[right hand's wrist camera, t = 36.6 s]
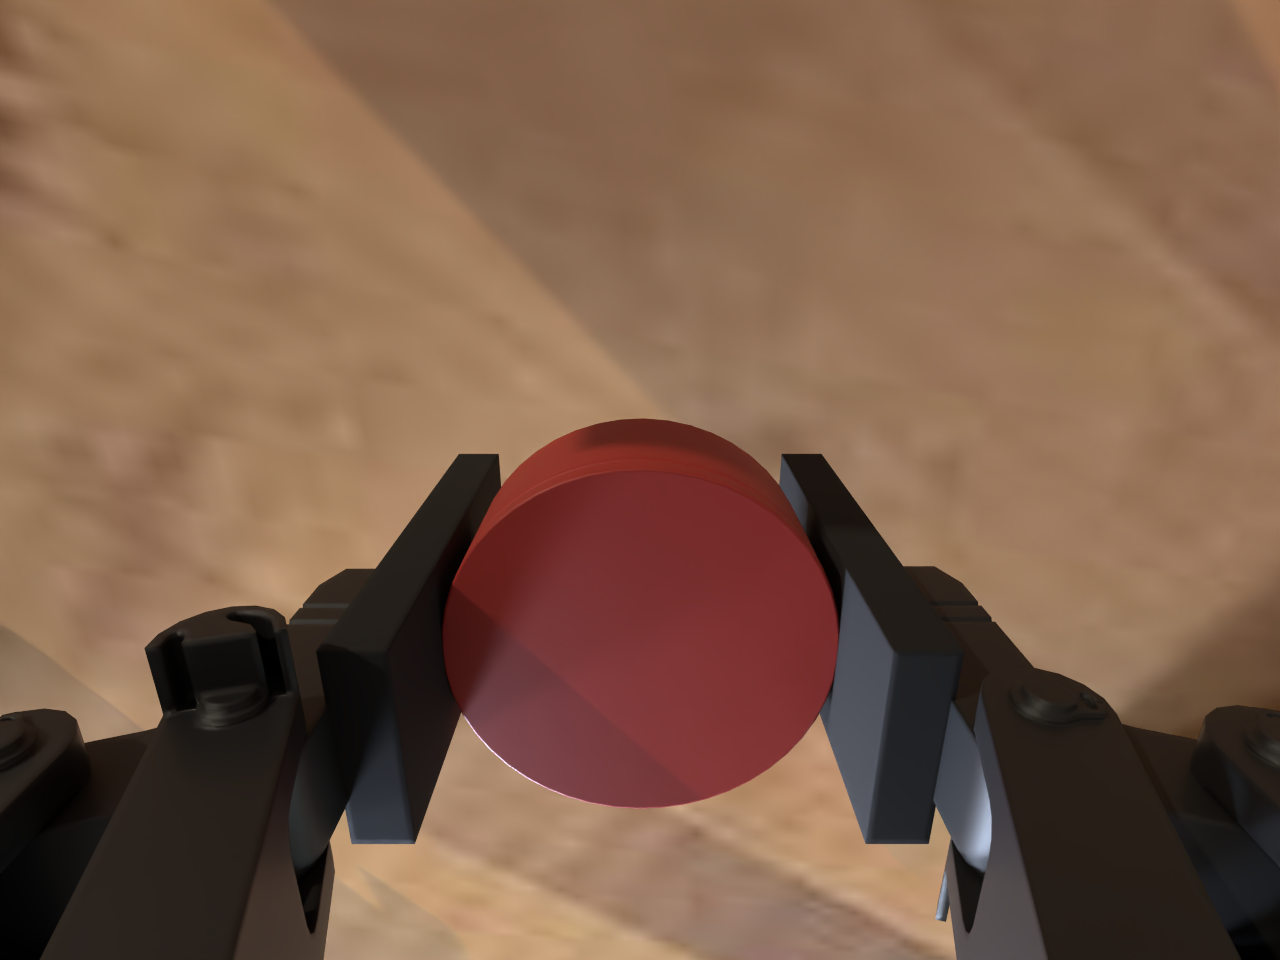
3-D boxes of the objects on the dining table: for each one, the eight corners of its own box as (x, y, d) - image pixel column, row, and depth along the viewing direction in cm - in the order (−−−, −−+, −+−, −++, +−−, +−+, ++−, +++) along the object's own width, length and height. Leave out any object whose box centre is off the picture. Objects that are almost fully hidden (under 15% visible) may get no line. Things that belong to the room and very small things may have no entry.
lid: (717, 747, 13) (731, 853, 11) (433, 646, 13) (391, 739, 10) (865, 496, 12) (917, 563, 9) (545, 361, 11) (522, 400, 9)
